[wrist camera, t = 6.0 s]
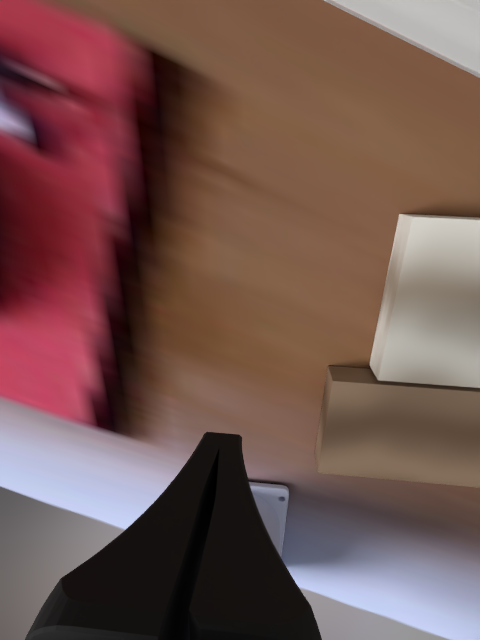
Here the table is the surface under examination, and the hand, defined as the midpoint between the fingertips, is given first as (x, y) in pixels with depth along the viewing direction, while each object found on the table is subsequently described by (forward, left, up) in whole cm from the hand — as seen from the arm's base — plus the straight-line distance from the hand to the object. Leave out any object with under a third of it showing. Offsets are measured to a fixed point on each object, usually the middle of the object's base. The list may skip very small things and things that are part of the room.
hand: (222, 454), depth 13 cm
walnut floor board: (-4, -14, -9) cm, 17 cm away
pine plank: (+4, -13, -9) cm, 17 cm away
